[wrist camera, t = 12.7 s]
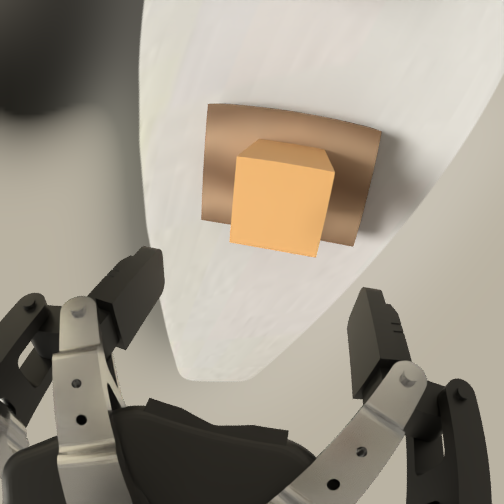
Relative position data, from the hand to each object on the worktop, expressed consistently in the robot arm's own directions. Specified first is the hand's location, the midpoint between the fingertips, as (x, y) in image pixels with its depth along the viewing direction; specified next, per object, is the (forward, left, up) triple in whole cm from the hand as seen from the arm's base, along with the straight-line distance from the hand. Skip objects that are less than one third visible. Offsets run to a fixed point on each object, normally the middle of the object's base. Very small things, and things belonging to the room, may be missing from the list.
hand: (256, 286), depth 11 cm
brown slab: (0, 0, -21) cm, 21 cm away
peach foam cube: (+1, 0, -17) cm, 17 cm away
